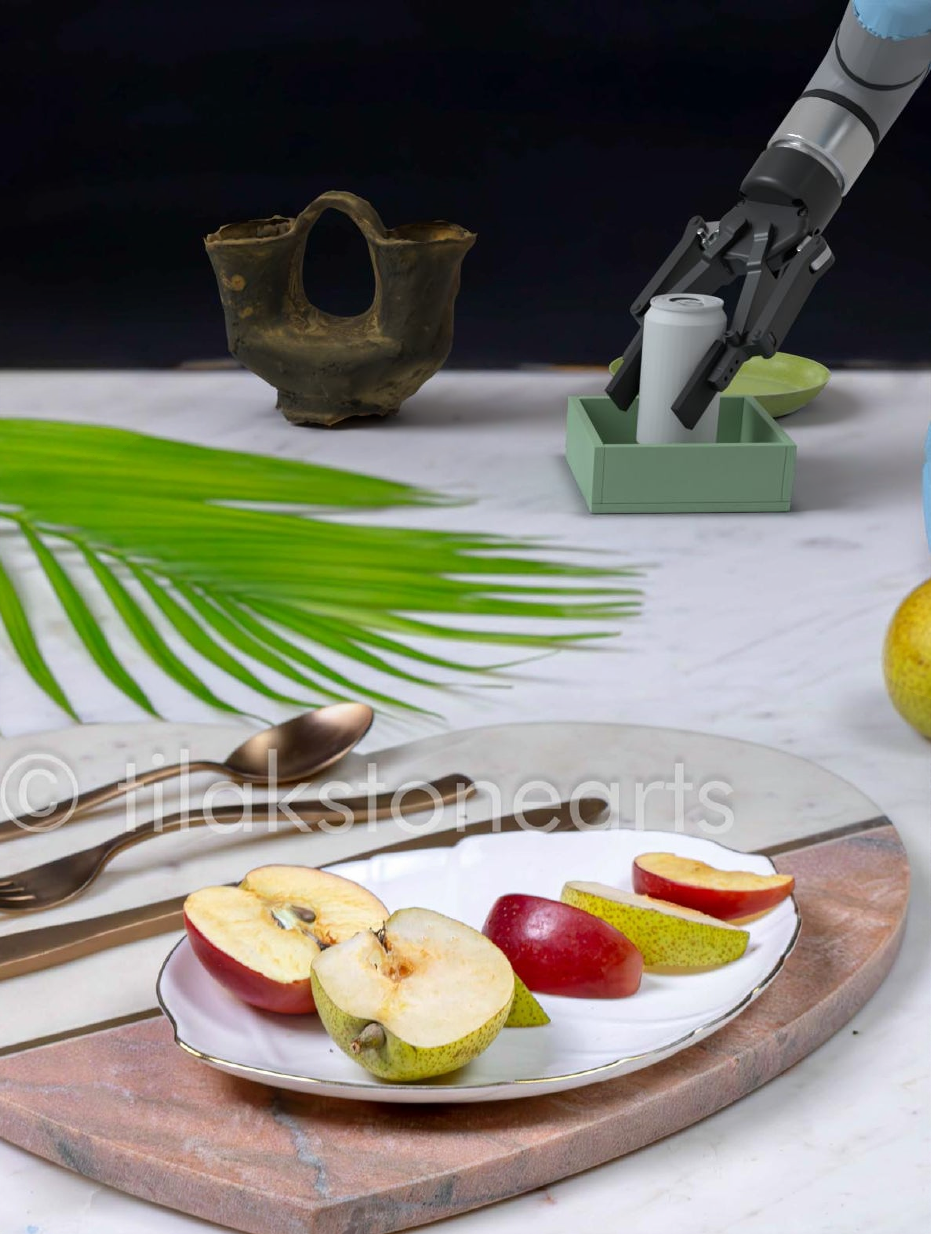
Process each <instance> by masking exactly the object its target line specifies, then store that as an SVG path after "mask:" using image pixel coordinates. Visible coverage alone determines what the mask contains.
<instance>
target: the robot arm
mask: <svg viewBox="0 0 931 1234" xmlns="http://www.w3.org/2000/svg"><path fill="white" fill-rule="evenodd" d="M832 39H833V40H832V42H831V44H830V47H829V48H828V51H827V52H826V55H825V56H824V58H823V60H822V61H821V63H820V64H819V66H818V68H817V70H815V73H814V74H813V76H812V77H811V79H810V80H809V82H808V84H807V85H806V87H805V89H804V90H803V92H802V94H801V95H800V96H799V97H798V98H797V100H796V102H795V103H794V105H792V107H791V109H790V110H789V112H788V113H787V114H786V116H785V117H784V119H783V120H782V122H781V124H780V125H779V126H778V128H777V129H776V131H774V133H773V135H772V136H771V137H770V140H768V143H767V145H766V149H765V150H763V151H762V152H761V153H760V155H759V157H758V158H757V159H756V161H755V162H754V164H753V166H752V167H751V168H750V170H749V172H748V173H747V174H746V176H745V177H744V179H743V181H741V184H740V188H739V193H738V197H737V202H736V204H735V206H734V207H733V208H732V209H730V211H728V212H727V213H726V214H724V216H722V217H721V219H720V220H719V221H707V222H705V221H704V219H703V217H702V216H701V215H696V216H693V217H692V218H690V220H689V221H688V223H687V225H686V228H685V230H684V233H683V236H682V238H681V239H680V241H679V242H678V243H677V245H676V246H675V248H673V250H672V251H671V253H670V254H669V255H668V257H667V258H666V259H665V261H664V262H663V263H662V265H661V266H660V267H659V269H658V270H657V271H656V272H655V274H654V275H653V276H652V278H651V279H650V281H649V282H648V283H647V284H646V286H645V287H644V289H643V290H642V291H641V293H640V294H639V295H638V297H637V298H636V299H635V301H634V302H633V303H632V304H631V306H630V307H629V312H630V314H631V315H632V316H633V318H634V319H635V321H636V322H637V323H638V325H639V326H640V327H639V329H638V331H637V332H636V334H635V336H634V337H633V338H632V340H631V342H630V343H629V344H628V346H627V348H626V349H625V350H624V352H623V354H622V356H621V357H622V359H623V361H624V362H623V363H622V365H621V366H620V368H619V369H618V371H617V372H616V374H615V375H614V377H612V378H611V379H610V381H609V382H608V384H607V386H606V387H605V389H604V392H605V393H606V394H607V396H609V397H610V398H611V400H612V401H613V402H614V404H615V405H616V406H617V407H618V409H619V410H621V411H625V412H627V410H628V409H629V407H630V406H631V404H632V403H633V401H634V400H635V398H636V397H637V395H638V394H639V392H640V378H641V363H642V348H643V334H644V319H645V314H646V313H647V311H648V310H649V309H650V307H651V304H650V302H651V299H652V298H653V297H656V296H660V295H666V294H700V295H708V296H712V295H713V294H714V293H715V292H717V290H719V289H720V288H721V286H729V285H730V284H731V283H732V282H734V281H735V280H736V279H737V278H738V277H739V276H746V277H745V279H744V283H743V287H742V289H741V293H740V296H739V298H738V302H737V305H736V308H735V310H734V311H735V312H734V314H733V318H732V321H731V323H730V327H729V330H726V333H725V331H723V335H724V337H725V341H726V342H727V344H726V342H725V343H724V342H723V341H720V340H715V341H714V343H713V344H712V346H711V347H710V349H709V350H708V352H707V353H706V355H705V356H704V358H703V359H702V361H701V362H700V364H699V365H698V367H697V368H696V370H695V372H694V373H693V375H692V376H691V378H690V379H689V381H688V382H687V384H686V385H685V387H684V388H683V390H682V391H681V393H680V394H679V396H678V397H677V399H676V400H675V402H674V403H673V405H672V406H671V410H672V411H673V412H674V414H675V415H676V417H677V418H678V419H679V421H680V422H681V423H682V425H683V426H684V427H685V428H686V429H690V430H693V429H694V427H695V425H696V424H697V422H698V421H699V419H700V418H701V416H702V415H703V413H704V412H705V410H706V409H707V407H708V406H709V404H710V403H711V401H712V400H713V398H714V397H715V395H716V394H717V392H721V393H722V392H723V391H724V390H725V389H726V388H727V387H728V386H729V384H730V383H731V381H732V380H733V378H734V377H735V375H736V374H737V372H738V371H739V369H740V368H741V366H742V365H743V363H744V362H746V361H748V360H750V359H751V358H752V357H755V356H762V357H763V359H770V358H772V357H773V356H774V355H775V354H776V352H778V350H779V348H780V347H781V345H782V343H783V342H784V340H785V338H786V337H787V334H788V333H789V331H790V329H791V327H792V326H793V324H794V322H795V320H796V318H797V317H798V315H799V313H800V311H801V309H802V307H803V306H804V304H805V302H806V301H807V299H808V297H809V295H810V294H811V292H812V290H813V288H814V287H815V285H816V283H817V281H818V280H819V279H820V278H821V277H822V276H823V275H824V274H825V273H826V272H827V271H828V270H829V269H830V268H831V267H832V266H833V264H834V263H835V260H836V258H835V256H834V254H833V252H832V250H831V249H830V247H829V245H828V243H827V241H826V240H825V237H824V236H823V235H821V234H822V233H823V231H824V230H825V229H826V227H827V226H828V224H829V223H830V221H831V219H832V218H833V216H834V214H836V212H837V210H838V209H839V208H840V206H841V203H842V200H843V198H844V197H845V196H846V195H847V194H848V192H849V191H850V190H851V188H852V186H853V185H854V183H855V182H856V181H857V179H858V178H859V176H860V174H861V173H862V171H863V170H864V168H865V167H866V165H867V164H868V162H869V161H870V159H871V158H872V156H873V155H874V153H875V152H876V150H877V149H878V146H879V144H880V143H881V141H882V140H883V138H884V137H885V136H886V134H887V133H888V131H889V130H890V128H891V127H892V125H893V124H894V123H895V121H896V120H897V118H899V116H900V114H901V112H902V111H903V110H904V108H905V107H906V106H907V104H908V102H909V101H910V99H911V98H912V96H913V95H914V94H915V92H916V90H917V89H919V88H920V86H921V85H922V84H923V82H924V81H925V79H926V78H927V76H928V74H929V73H930V71H931V0H849V2H848V4H847V7H846V9H845V11H844V15H843V17H842V20H841V21H840V24H839V26H838V27H837V29H836V32H835V34H834V37H833V38H832ZM721 261H722V262H721ZM786 267H787V268H786ZM785 268H786V269H785ZM926 432H927V433H926V438H925V444H924V449H925V460H926V461H925V462H924V463H923V464H922V471H921V494H922V510H923V521H924V529H925V534H926V540H927V545H928V549H929V550H928V551H929V553H930V554H929V555H931V421H930V422H929V425H928V428H927V431H926Z"/></svg>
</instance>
